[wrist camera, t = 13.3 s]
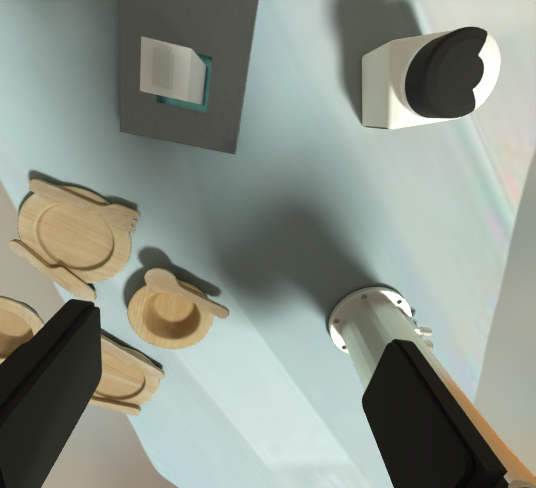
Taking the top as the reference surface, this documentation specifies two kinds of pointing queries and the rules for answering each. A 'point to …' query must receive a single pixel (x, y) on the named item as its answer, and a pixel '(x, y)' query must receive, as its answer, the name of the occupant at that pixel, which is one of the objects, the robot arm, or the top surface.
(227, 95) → the panel
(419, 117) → the medicine bottle
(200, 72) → the plug
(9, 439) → the robot arm
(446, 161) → the top surface
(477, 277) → the top surface
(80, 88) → the top surface
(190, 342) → the tableware set
